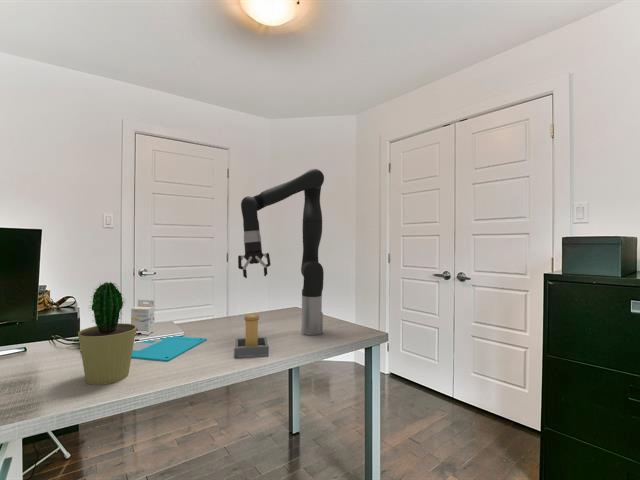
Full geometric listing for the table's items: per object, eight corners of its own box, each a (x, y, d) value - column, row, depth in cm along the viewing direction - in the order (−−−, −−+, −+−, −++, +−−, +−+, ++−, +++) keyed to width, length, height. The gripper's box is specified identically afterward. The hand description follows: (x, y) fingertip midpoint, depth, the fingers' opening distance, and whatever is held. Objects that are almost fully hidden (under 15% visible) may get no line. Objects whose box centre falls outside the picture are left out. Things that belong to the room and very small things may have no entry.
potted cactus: (142, 377, 104) (143, 280, 104) (82, 393, 94) (83, 285, 93) (129, 364, 115) (130, 276, 115) (73, 376, 105) (74, 279, 105)
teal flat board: (168, 362, 118) (168, 360, 118) (100, 356, 123) (100, 353, 123) (207, 340, 144) (207, 338, 144) (149, 336, 149) (149, 334, 149)
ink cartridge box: (130, 334, 150) (130, 301, 150) (137, 331, 155) (137, 299, 155) (148, 335, 150) (148, 301, 149) (154, 332, 154) (155, 299, 154)
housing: (265, 345, 136) (266, 337, 136) (268, 355, 125) (268, 346, 125) (235, 347, 134) (235, 338, 134) (235, 358, 122) (235, 348, 122)
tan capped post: (258, 346, 132) (258, 313, 132) (258, 350, 127) (259, 316, 127) (244, 346, 131) (244, 314, 131) (244, 351, 126) (244, 317, 126)
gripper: (268, 240, 157) (271, 274, 157) (237, 242, 155) (240, 277, 155) (268, 239, 150) (271, 276, 150) (235, 242, 148) (238, 279, 148)
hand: (255, 277), depth 152 cm, fingers open, 8 cm apart
